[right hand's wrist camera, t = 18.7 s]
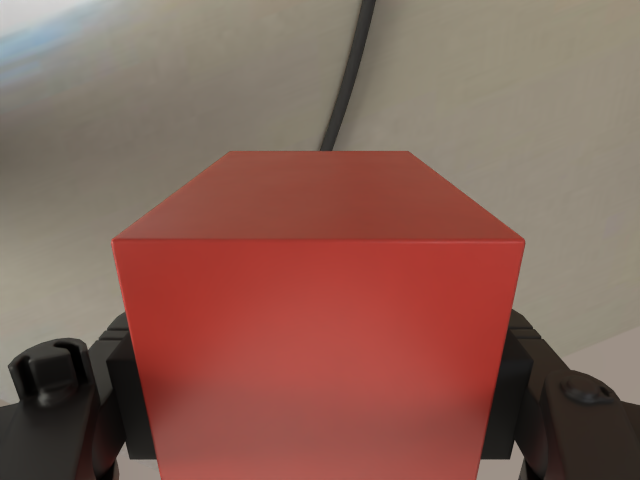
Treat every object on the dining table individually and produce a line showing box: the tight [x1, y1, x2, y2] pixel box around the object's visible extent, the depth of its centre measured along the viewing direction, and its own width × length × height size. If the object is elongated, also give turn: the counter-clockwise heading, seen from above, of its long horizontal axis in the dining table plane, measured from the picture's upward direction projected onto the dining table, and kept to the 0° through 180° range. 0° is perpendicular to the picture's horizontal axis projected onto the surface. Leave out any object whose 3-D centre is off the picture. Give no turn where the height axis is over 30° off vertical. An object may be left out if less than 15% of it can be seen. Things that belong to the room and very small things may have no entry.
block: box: [111, 151, 525, 480], centre depth 12 cm, size 8×7×9 cm
